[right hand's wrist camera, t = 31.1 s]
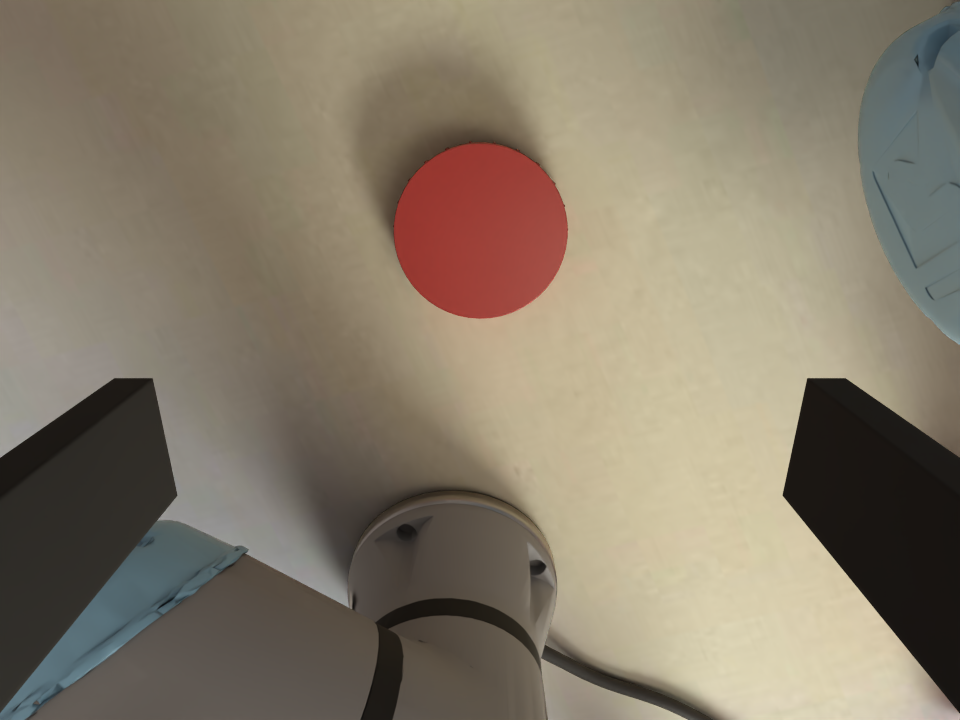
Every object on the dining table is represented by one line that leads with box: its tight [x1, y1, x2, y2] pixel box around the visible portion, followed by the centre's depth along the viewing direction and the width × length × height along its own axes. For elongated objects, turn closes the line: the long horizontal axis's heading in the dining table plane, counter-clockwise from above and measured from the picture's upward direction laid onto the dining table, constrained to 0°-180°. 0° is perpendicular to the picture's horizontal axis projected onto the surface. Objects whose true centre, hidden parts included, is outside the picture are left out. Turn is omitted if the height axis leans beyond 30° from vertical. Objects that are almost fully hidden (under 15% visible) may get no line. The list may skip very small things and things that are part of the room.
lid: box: [393, 141, 568, 319], centre depth 35 cm, size 10×10×2 cm
